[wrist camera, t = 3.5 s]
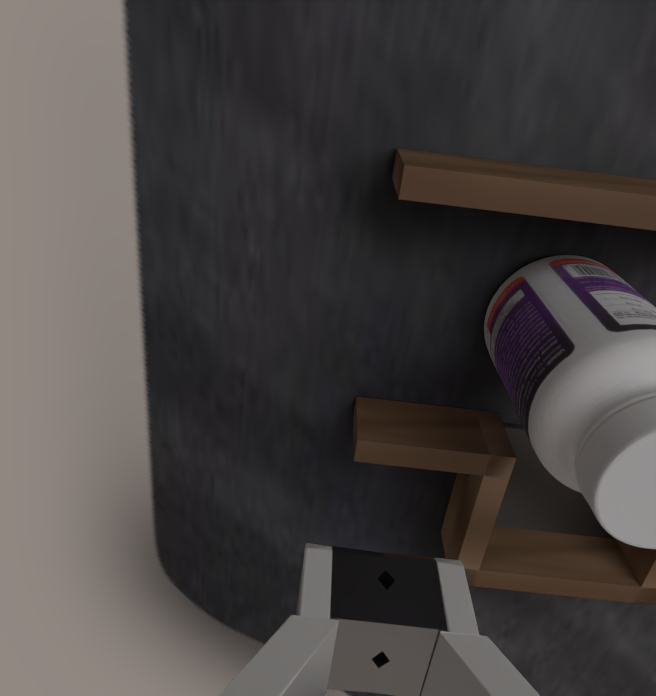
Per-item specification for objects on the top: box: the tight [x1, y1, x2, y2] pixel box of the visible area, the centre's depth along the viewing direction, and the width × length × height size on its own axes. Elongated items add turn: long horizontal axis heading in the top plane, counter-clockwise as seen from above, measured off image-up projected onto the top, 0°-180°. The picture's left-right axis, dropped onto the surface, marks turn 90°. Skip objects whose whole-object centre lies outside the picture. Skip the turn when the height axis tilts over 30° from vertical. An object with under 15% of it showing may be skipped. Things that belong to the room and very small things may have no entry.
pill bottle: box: [484, 255, 656, 549], centre depth 18 cm, size 5×5×10 cm
